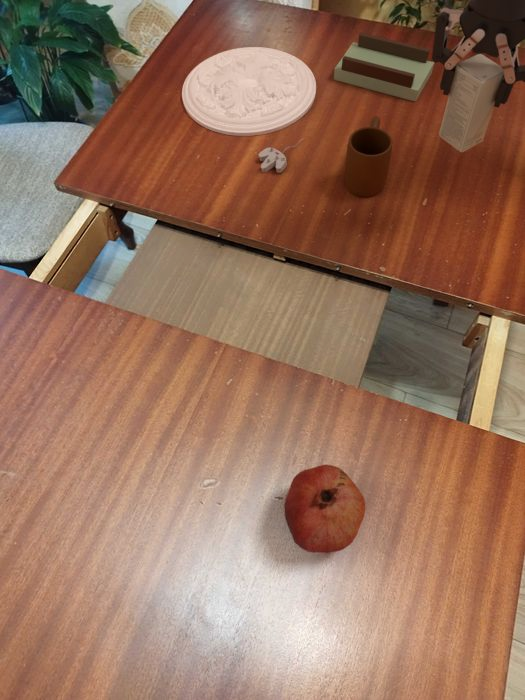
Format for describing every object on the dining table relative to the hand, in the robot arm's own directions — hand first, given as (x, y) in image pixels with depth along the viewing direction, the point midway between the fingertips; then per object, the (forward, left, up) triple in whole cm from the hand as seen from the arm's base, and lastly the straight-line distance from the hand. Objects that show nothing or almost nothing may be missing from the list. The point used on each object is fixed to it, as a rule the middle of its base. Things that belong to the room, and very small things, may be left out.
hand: (471, 97), depth 74 cm
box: (0, 0, -7) cm, 7 cm away
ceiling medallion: (+34, -36, -24) cm, 55 cm away
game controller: (+26, -16, -24) cm, 38 cm away
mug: (+11, -11, -24) cm, 28 cm away
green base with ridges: (+6, -40, -23) cm, 46 cm away
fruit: (+20, +51, -24) cm, 60 cm away
